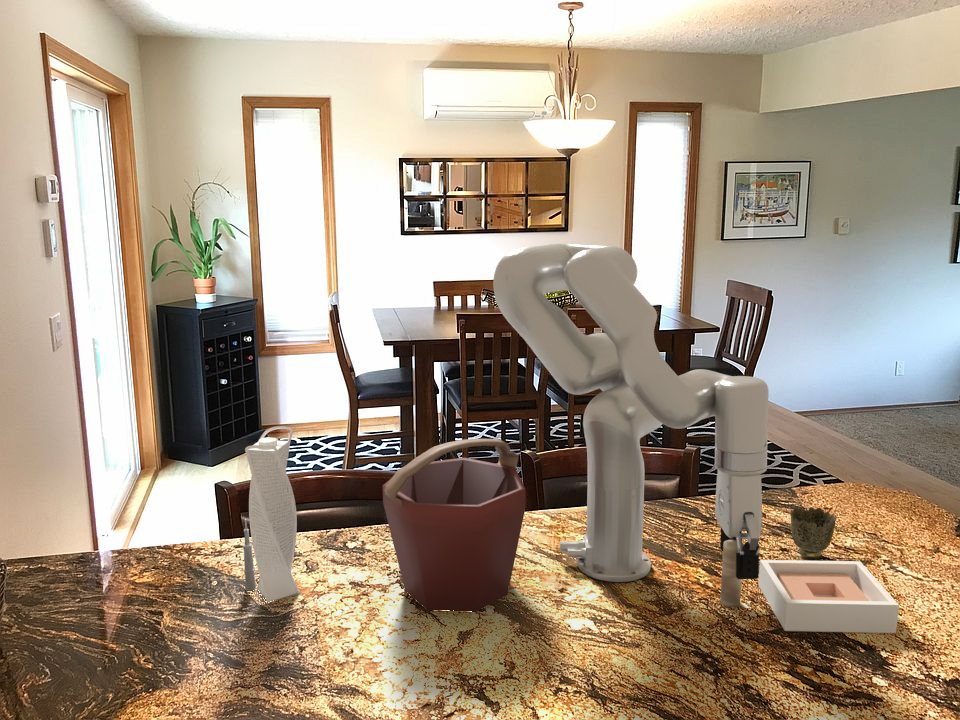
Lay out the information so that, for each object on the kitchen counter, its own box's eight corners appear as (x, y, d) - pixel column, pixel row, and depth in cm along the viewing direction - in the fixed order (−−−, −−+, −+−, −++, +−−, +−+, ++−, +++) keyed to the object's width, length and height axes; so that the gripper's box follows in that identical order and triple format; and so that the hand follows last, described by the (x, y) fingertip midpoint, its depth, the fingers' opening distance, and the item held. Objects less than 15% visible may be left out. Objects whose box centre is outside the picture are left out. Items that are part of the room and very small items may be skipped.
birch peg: (722, 607, 126) (726, 548, 124) (718, 597, 129) (721, 539, 127) (742, 607, 126) (746, 548, 124) (737, 598, 129) (740, 540, 127)
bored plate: (799, 619, 120) (800, 607, 120) (776, 584, 131) (777, 572, 131) (874, 621, 120) (876, 608, 119) (846, 585, 130) (847, 573, 130)
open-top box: (784, 630, 119) (786, 602, 118) (758, 585, 133) (759, 559, 132) (896, 633, 118) (899, 605, 117) (857, 586, 132) (860, 561, 131)
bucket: (504, 549, 147) (503, 417, 142) (556, 607, 127) (557, 455, 122) (372, 572, 139) (366, 433, 134) (405, 637, 119) (399, 476, 113)
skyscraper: (292, 576, 138) (281, 419, 132) (311, 595, 132) (301, 431, 126) (243, 590, 134) (230, 428, 128) (261, 611, 127) (248, 441, 121)
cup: (825, 547, 146) (828, 506, 144) (838, 566, 139) (842, 523, 137) (782, 546, 147) (785, 505, 145) (793, 565, 140) (797, 521, 138)
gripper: (703, 442, 131) (702, 541, 134) (729, 477, 114) (727, 590, 117) (750, 441, 130) (748, 541, 134) (783, 476, 113) (780, 589, 117)
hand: (738, 564), depth 125 cm, fingers open, 9 cm apart
